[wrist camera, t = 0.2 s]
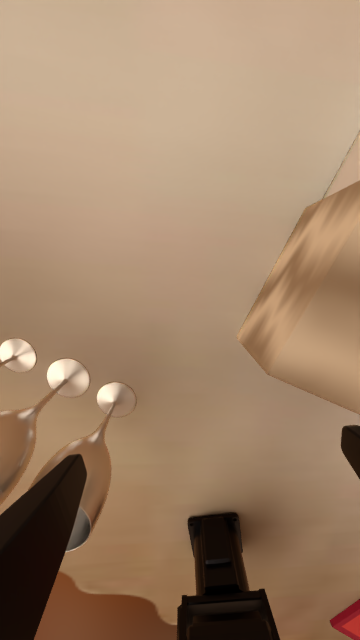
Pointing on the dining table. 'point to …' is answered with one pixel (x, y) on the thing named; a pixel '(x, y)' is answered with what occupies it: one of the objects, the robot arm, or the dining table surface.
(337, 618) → the red board with handle
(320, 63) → the dining table surface
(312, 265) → the wood grain box
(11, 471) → the goblet set
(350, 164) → the tray
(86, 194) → the dining table surface
